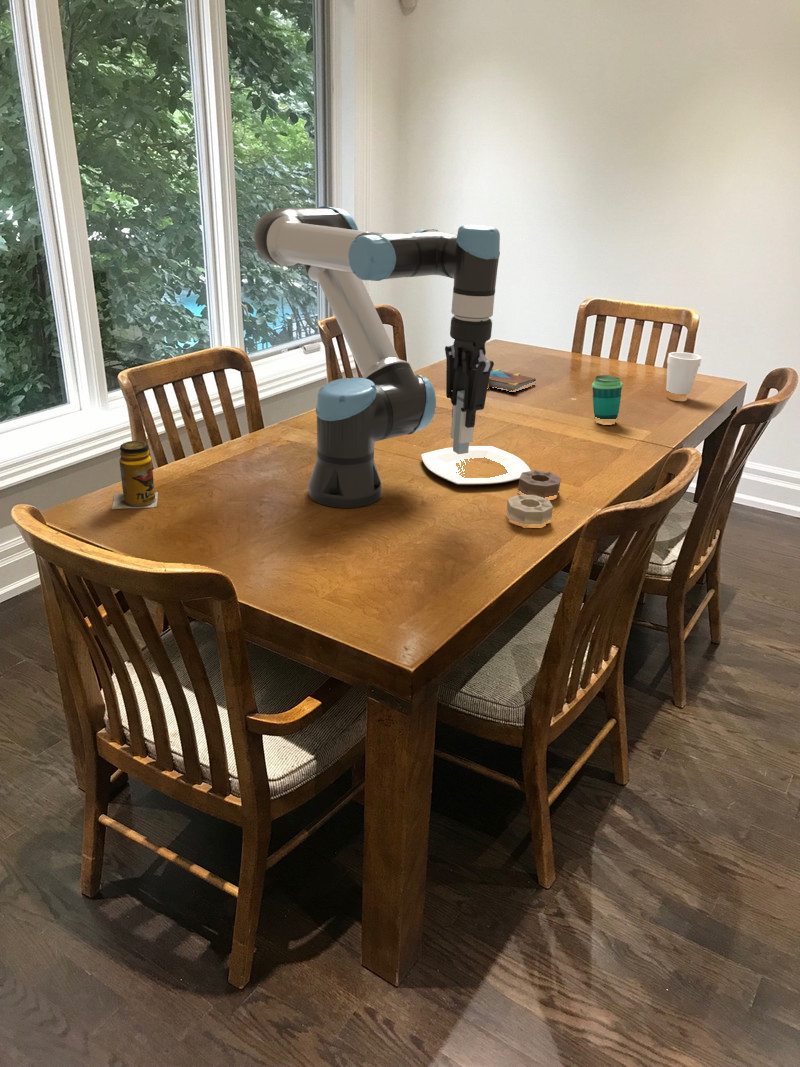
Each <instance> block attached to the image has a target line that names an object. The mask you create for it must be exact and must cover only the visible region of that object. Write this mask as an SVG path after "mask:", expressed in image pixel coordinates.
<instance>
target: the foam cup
mask: <svg viewBox="0 0 800 1067" xmlns="http://www.w3.org/2000/svg"><path fill="white" fill-rule="evenodd" d="M666 360H667V361H666V363H667V369H666V388H665V389H666V390H667V391H669V392H671V393H675V394H689V393H690V394H691V391H692V389H693V385H694V384H695V380H696V377H697V374H698V372H699V368H700V367H701V362H702V356H701V355H699V354H696V353H692V352H685V351H672V352H669V353H668V356H667V359H666ZM666 390H665V391H666Z"/></svg>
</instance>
